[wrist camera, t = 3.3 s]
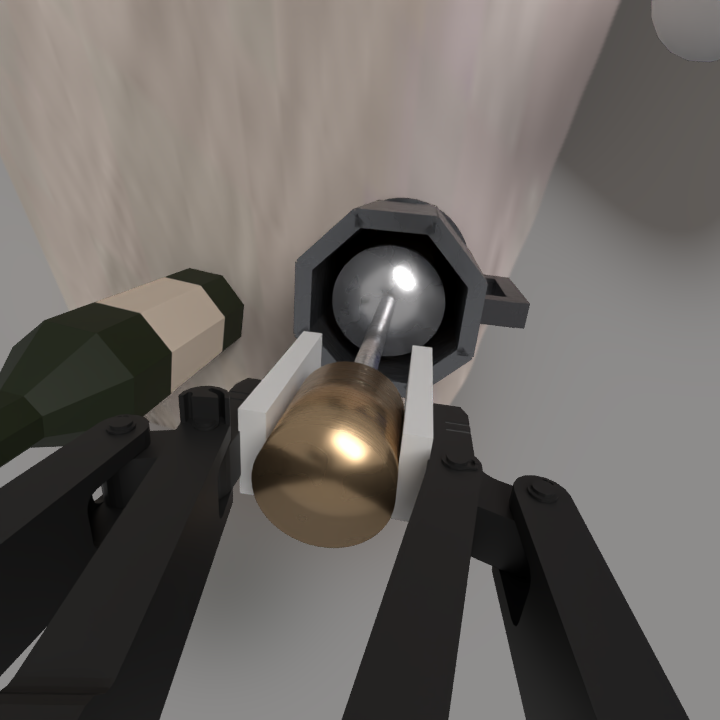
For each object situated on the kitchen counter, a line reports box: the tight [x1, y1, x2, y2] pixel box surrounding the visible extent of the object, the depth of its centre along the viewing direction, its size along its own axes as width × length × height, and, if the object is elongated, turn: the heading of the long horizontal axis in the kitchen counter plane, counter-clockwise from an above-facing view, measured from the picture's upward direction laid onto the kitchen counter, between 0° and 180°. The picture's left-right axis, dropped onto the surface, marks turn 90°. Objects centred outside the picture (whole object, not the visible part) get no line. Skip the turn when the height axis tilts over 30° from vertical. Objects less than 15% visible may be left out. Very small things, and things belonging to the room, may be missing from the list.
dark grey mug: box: [294, 198, 530, 398], centre depth 32 cm, size 12×14×13 cm
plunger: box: [251, 244, 445, 548], centre depth 19 cm, size 7×7×19 cm
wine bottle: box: [0, 268, 244, 467], centre depth 28 cm, size 8×8×30 cm
